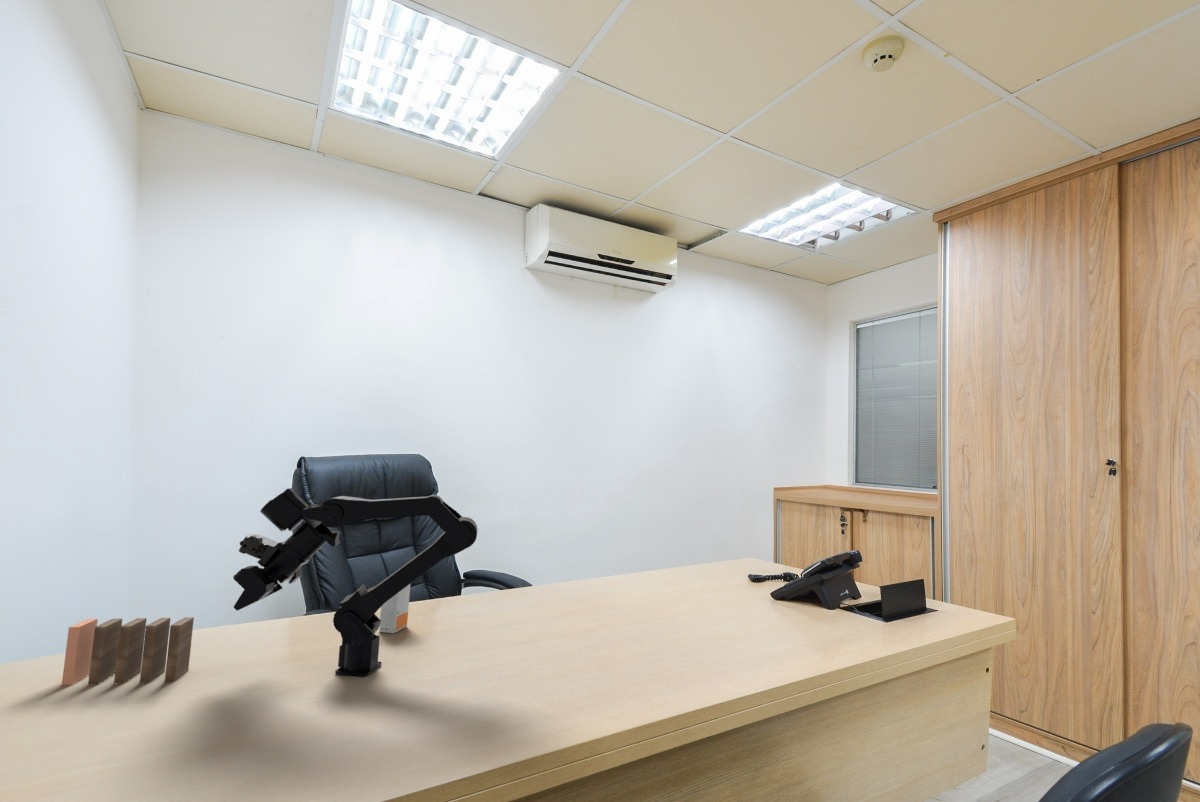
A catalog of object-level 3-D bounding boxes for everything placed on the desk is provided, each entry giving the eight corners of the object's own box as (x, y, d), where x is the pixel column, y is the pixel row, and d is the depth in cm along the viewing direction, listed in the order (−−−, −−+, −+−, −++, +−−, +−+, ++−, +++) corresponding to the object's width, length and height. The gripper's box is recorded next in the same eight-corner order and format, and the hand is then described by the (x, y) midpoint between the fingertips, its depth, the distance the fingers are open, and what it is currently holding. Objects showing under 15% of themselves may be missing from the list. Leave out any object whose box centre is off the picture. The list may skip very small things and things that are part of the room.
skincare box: (394, 634, 134) (398, 582, 135) (378, 632, 135) (382, 581, 136) (408, 626, 140) (411, 577, 141) (392, 625, 140) (396, 575, 142)
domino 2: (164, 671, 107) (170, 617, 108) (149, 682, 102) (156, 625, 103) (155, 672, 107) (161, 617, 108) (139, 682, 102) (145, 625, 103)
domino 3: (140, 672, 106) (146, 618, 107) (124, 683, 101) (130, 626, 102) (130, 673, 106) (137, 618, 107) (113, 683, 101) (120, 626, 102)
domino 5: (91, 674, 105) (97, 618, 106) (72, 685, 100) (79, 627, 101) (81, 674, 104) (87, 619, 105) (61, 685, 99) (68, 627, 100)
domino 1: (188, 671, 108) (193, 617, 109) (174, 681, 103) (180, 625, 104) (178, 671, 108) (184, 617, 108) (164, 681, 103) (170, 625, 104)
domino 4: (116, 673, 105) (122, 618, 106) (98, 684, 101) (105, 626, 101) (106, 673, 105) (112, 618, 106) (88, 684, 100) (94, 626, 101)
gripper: (288, 515, 121) (229, 571, 118) (248, 523, 102) (177, 589, 99) (326, 551, 121) (268, 608, 118) (293, 566, 103) (223, 633, 99)
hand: (236, 608), depth 109 cm, fingers closed
